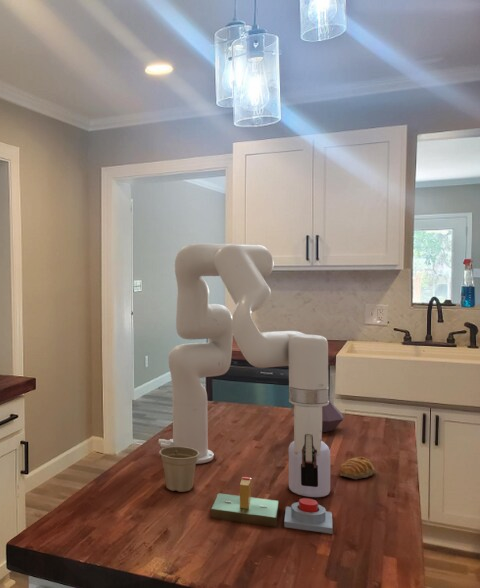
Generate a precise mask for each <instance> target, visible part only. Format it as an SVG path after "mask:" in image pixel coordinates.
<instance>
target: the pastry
mask: <svg viewBox="0 0 480 588" xmlns="http://www.w3.org/2000/svg"><path fill="white" fill-rule="evenodd" d="M375 471H376V469H375V467H374V466H373V464H372V462H371V460H369V458H367V457H364V456H354V457H352V458H350V459H349V458H348V459H346V460H345V461H344V462H342V464H340V468H339V470H338V472H339V475H340V477H346V478H348V479H353V480H358V479H363V478H369V477H371V476H373V475H374V473H375Z"/></svg>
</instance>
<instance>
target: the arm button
mask: <svg viewBox="0 0 480 588" xmlns="http://www.w3.org/2000/svg"><path fill="white" fill-rule="evenodd" d="M298 502H299V509H300V510H302V511H305V512H317V511H318V505H319V503H318V501H317V500H315V499H313V498H310V497H303V498H299V500H298Z"/></svg>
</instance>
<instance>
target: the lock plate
mask: <svg viewBox="0 0 480 588" xmlns="http://www.w3.org/2000/svg"><path fill="white" fill-rule="evenodd" d="M279 510H280V501H279V500H276V499H269V498H259V497H252V496H251V503H250V506H249V509H245V508H240V495H235V494H228V493H219V492H218V493H217V494H216V496H215V499H214V502H213V504H212V506H211V510H210V511H211V512H210V514H211V516H210V517H211V519H217V520H225V521H231V522H238V523H246V524H252V525H259V526H267V527H273V528H276V527H277V524H278V518H279V513H280V512H279Z"/></svg>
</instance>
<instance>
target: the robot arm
mask: <svg viewBox="0 0 480 588" xmlns="http://www.w3.org/2000/svg"><path fill="white" fill-rule="evenodd" d="M273 269H274V258H273V255H272V253H271V251H270V250H269V249H268V248H267V247H265V246H264V245H262V244H241V243H240V244H239V243H192V244H188V245H185V246H183V247H182V248H180V250H179V251H178V252H177V254H176V256H175V260H174V273H175V279H176V286H177V287H176V288H177V294H176V316H175V328H176V329H175V330H176V333H177V335H178V336H179V337H180V338H181V339H183V340H189V341H190V340H191V341H192V340H206V339H207V340H208V342H192V343H182V344H179V345H176V346H174V347H173V348H172V349H171V350H170V351H169V354H168V367H169V372H170V378H171V386H172V387H171V388H172V390H171V391H172V438H170V439H164V438H163V439H162V438H158V442H157V444H158V446H159V447H160V449H163V448H166V447H173V446H180V447H188V448H192V449H195V450H197V451H198V452H199V456H198V457H197V461H196V464H195V465H201V464H206V463H210V462H211V461H213V460H214V458H215V457H214V452H213V451H212V450H210V449H209V441H208V440H209V436H208V435H209V434H208V433H209V431H208V429H209V421H208V420H209V419H208V418H209V417H208V415H209V412H208V409H209V408H208V392H207V390H206V388H205V386H204V385H203V383H202V382H201V380H200V379H202V378H208V377H219V376H223V375H225V374H226V373H227V372H228V371H229V369H230V367H231V363H232V356H233V355H232V354H233V339H234V341H235V343H236V345H237V347H238V348H239V350H240V352H241V354H242V356H243V357H244V358H245V360H246V362H248V363H249V364H250V365H251V366H253V367H255V368H258V369H265V368H267V369H268V368H277V367H278V368H279V367H288V397H289V398H288V403H289V404H291V405H293V411H294V417H293V441H294V453H295V454H298V453H301V451H302V464H301V485H302V486H310V487H318V465H316V456H318V455H320V449H321V441H322V440H323V439H322V437H323V432H322V406H326V405H328V404H329V400H330V397H329V342H328V339H327V338H326V337H325V336H323V335H319V334H306V333H304V332H302V331H298V330H283V331H282V330H276V331H275V330H274V331H262V332H261V331H260V329H259V328H258V326H257V325H256V323H255V321H254V319H253V315H252V314H253V313H254V312H256V311H257V310H259V309H261V308H262V307H263V306H264V305H265V304H267V302H268V301H269V300H270V298H271V296H272V291H271V287H270V286H269V285H268V283H267V282H266V280H265V279H266V278H268V277H269V276H270V275H271V274H272V272H273V271H274V270H273ZM204 277H220V279H221V281H222V283H223V284H224V287H225V288H226V290H227V292H228V294H229V295H230V297H231V299H232V300H233V303H234V304H235V307H234V310H233V313H231V311H230V309H229V308H228V307H227V306H225V305H224V304H219V303H210V287H209V284H208V283H207V281H206V280H205V278H204ZM294 405H295V406H294Z"/></svg>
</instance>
